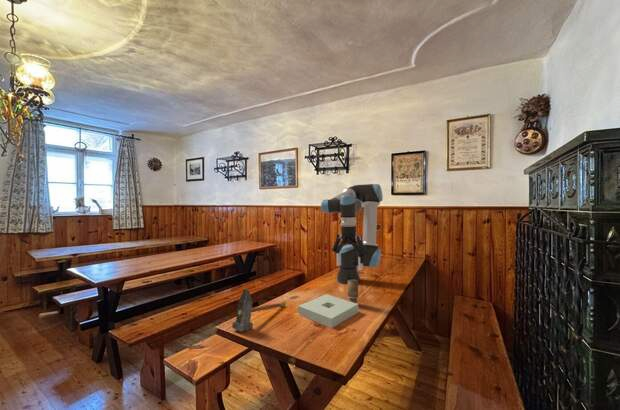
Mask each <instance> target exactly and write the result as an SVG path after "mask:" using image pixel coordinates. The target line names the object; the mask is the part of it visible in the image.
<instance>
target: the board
mask: <svg viewBox="0 0 620 410" xmlns="http://www.w3.org/2000/svg"><path fill="white" fill-rule="evenodd" d="M297 307H298V309H297V310H298V315H299V316H301V317H304V318H306V319H309V320H311V321H313V322H315V323H318V324H321V325H323V326H326V327H328V328H330V329H332V328H334V327H336V326H338V325H339V324H342V323H343V322H344V321H346V320H348V319H350V318H352V317H353V316H355V315H357V314H358V313H359V303H358V302H357V303H353V302H350V301H349V300H346V299H343V298H340V297H336V296H334V295H331V294H326V293H325V294H323V295H321V296H318V297H316V298H314V299H311V300H309V301H307V302H306V301H305V303H302V304H299V305H298V306H297Z"/></svg>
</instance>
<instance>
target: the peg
mask: <svg viewBox="0 0 620 410" xmlns="http://www.w3.org/2000/svg"><path fill="white" fill-rule="evenodd" d="M347 297H348V301H350V302H353V303H357V304H358V298H359V282H358V281H357V280H348V284H347Z"/></svg>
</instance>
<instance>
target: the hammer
mask: <svg viewBox="0 0 620 410" xmlns="http://www.w3.org/2000/svg"><path fill="white" fill-rule="evenodd" d="M237 303H238V304H237V312H236V319H235V321H233V322H232V325H231V328H232V329H234V330H236V331H238V332H246V331H249V330H251V329H253V326H254V325H253V322H251V317H252V313H255V312H260V311H267V310H270V309H275V308H278V307H280V308H283V307H285V306H286V302H285V301H280V302H279V303H278V302H277V303H273V304H268V305H267V304H265V305H261V306H255V307H253V299H252V295H251V293H250V290H249V289H246V288H244V289H243V291H242V293H241V295H240V297H239V299H238V302H237Z"/></svg>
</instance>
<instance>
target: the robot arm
mask: <svg viewBox="0 0 620 410" xmlns="http://www.w3.org/2000/svg"><path fill="white" fill-rule="evenodd" d="M383 198H384V196H383V190H382V187H381V184H378V183H367V184H366V183H365V184H354V185H352V186H349V187H347V188H345V189H344V190H343V191H342V192H341V193H339V194H337V195H336V196H334V197H332V198H330V199H322V201H321V202H320V210H321V212H322V213H323V214H324V213H326V214H331V213H332V214H340V225H341V226H340V232H341V233H340V234H339V233H338V234H337V235H336V238H335V242H334V244H333V247H332V250H331V251H332V252H334V253H335V260H336V267H338V268H339V269H338V271H337V272H338V273H337V276H336V281H337V282H338V283H341V284H343V285H344V284H346V285H348V280H357V281H358V283H360V282H361V276H360V274H359V271H363V270H364V267H369V268H376V267H378V266H379V265H380V262H381V257H382V249H381V248H379V245H378V244H377V230H378V229H377V223H378V220H377V219H378V207H379V206H380V204H381V202H383ZM362 209H363V217H362V218H363V223H362V236H361V235H359V236H358V235H357V226H356V225H357V216H356V215H357V214H358V213H360V211H361V210H362Z"/></svg>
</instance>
